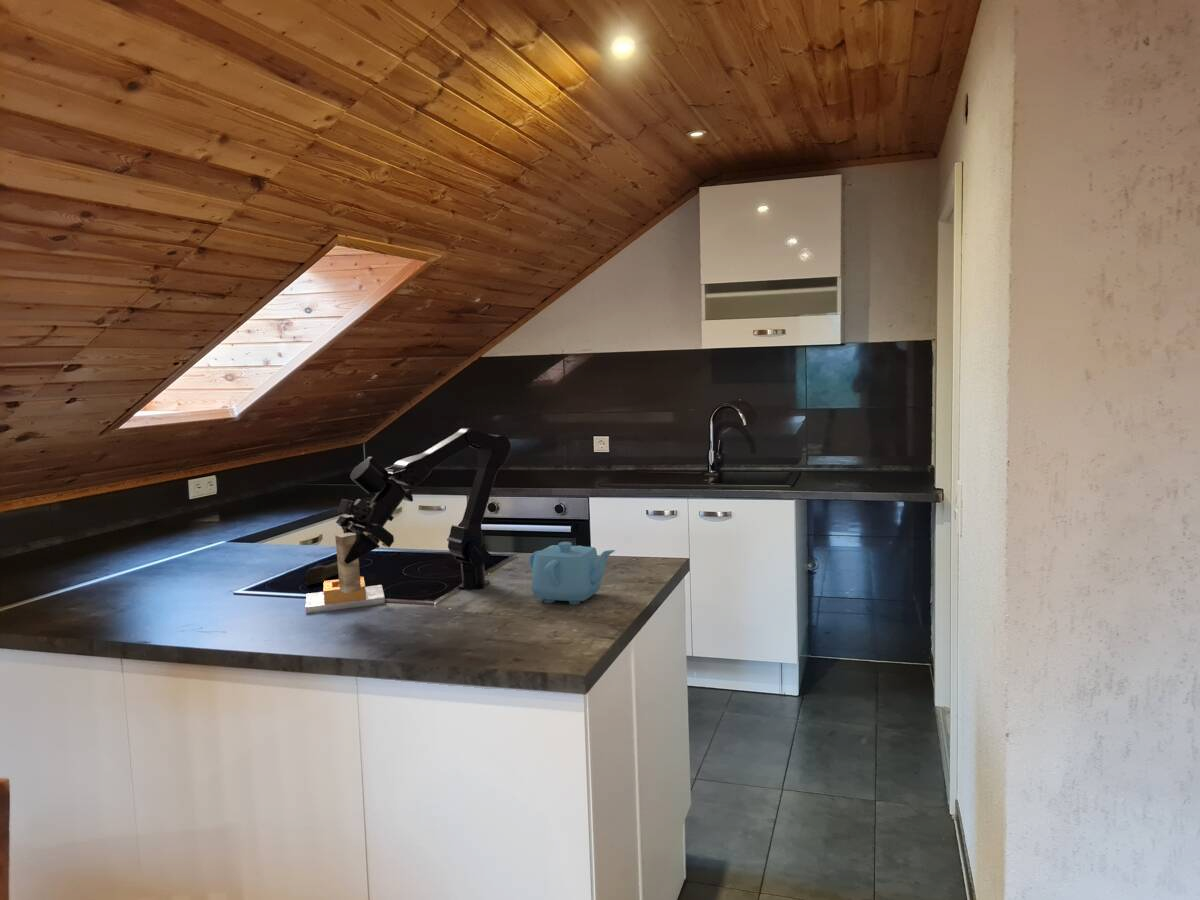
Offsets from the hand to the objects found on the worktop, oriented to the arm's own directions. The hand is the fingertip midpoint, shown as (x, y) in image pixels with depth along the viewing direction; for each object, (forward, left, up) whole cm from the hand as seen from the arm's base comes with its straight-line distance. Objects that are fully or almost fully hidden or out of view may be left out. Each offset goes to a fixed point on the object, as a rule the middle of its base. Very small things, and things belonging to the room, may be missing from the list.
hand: (342, 561), depth 197 cm
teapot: (-16, +50, -13) cm, 54 cm away
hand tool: (-34, -20, -14) cm, 42 cm away
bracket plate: (-12, -6, -13) cm, 19 cm away
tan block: (-1, +1, -7) cm, 7 cm away
